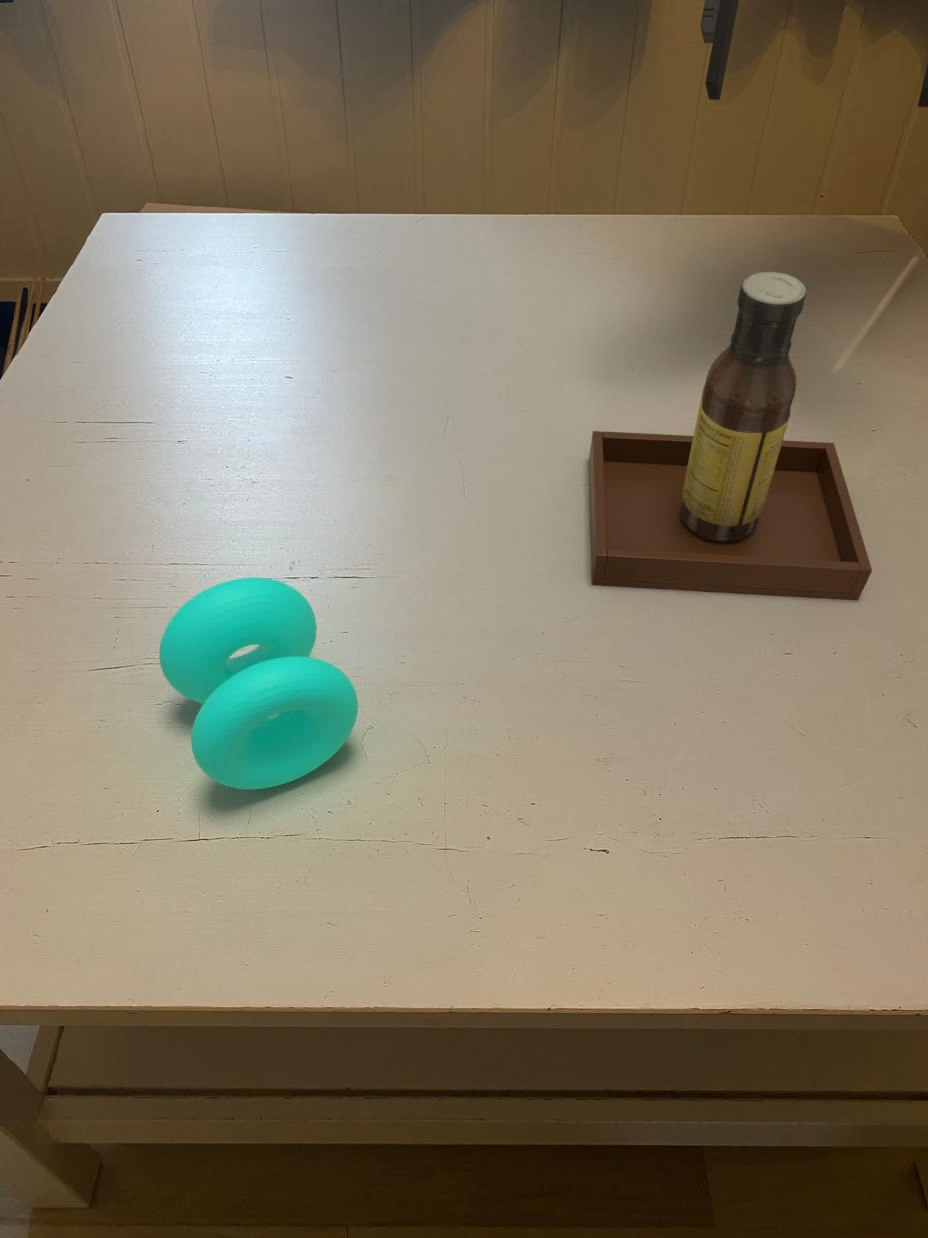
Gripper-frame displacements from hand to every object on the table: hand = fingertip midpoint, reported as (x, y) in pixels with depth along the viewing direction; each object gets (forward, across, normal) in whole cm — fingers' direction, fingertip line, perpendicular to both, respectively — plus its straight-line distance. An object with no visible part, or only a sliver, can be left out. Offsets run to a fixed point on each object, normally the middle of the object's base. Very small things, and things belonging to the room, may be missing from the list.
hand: (815, 95), depth 63 cm
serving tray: (+29, +1, -7) cm, 30 cm away
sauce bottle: (+29, +1, -7) cm, 30 cm away
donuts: (+47, +25, +17) cm, 55 cm away
